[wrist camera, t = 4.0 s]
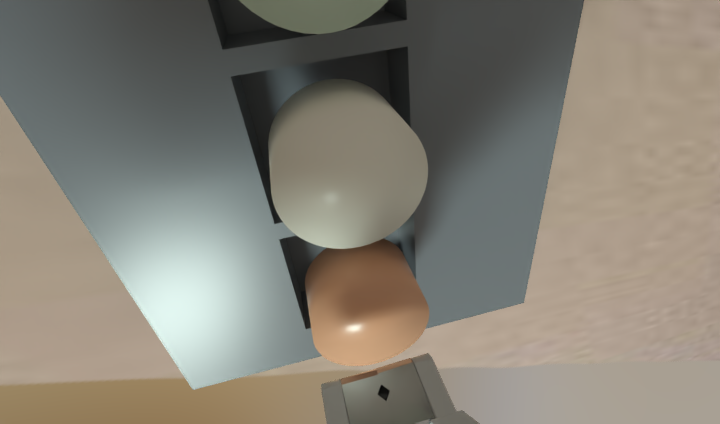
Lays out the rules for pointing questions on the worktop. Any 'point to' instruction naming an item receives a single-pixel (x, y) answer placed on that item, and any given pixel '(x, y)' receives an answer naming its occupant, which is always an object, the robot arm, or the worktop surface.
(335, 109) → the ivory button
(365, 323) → the terracotta button
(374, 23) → the panel
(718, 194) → the worktop surface
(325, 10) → the sage button
